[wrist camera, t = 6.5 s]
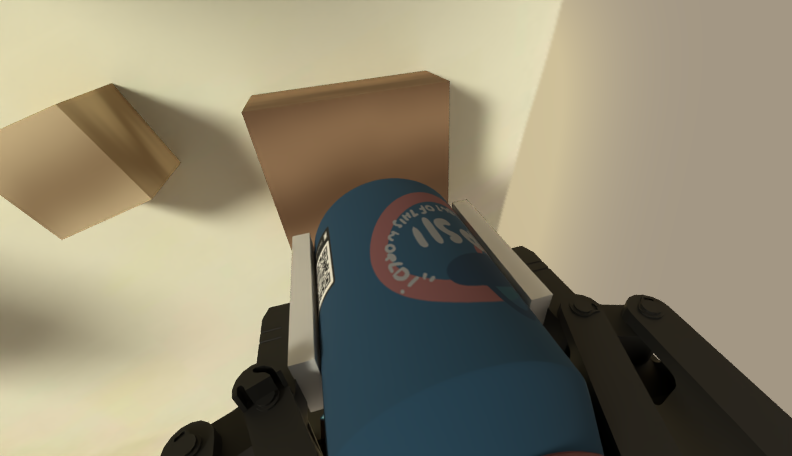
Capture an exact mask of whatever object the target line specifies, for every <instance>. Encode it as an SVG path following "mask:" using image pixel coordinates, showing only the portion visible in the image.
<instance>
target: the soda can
mask: <svg viewBox="0 0 792 456" xmlns="http://www.w3.org/2000/svg"><path fill="white" fill-rule="evenodd" d="M314 253H315V270H316V288H317V305H318V322H319V340H320V357H321V374H322V391H323V409H324V426H325V443H326V456H604V453H603V448H602V444H601V440H600V436H599V431H598V427H597V423H596V419H595V415H594V410H593V406H592V402H591V398H590V394H589V391H588V387H587V384H586V381H585V379H584V377H583V376H582V375H581V373H580V372H579V371H578V369H577V368H576V367H575V366H574V364H573V363H572V362H571V361H570V359H569V358H568V357H567V355H566V354H565V353H564V352H563V350H562V349H561V348H560V346H559V345H558V344H557V343H556V341H555V340H554V339H553V337H552V336H551V335H550V334H549V332H548V331H547V330H546V328H545V327H544V326H543V325H542V323H541V322H540V321H539V319H538V318H537V317H536V316H535V314H534V313H533V312H532V310H531V309H530V308H529V307H528V305H527V304H526V303H525V302H524V300H523V299H522V298H521V296H520V295H519V294H518V293H517V291H516V290H515V289H514V287H513V286H512V285H511V284H510V282H509V281H508V280H507V278H506V277H505V276H504V275H503V273H502V272H501V271H500V269H499V268H498V267H497V266H496V264H495V263H494V262H493V260H492V259H491V258H490V257H489V255H488V254H487V253H486V251H485V250H484V249H483V248H482V246H481V245H480V244H479V243H478V241H477V240H476V239H475V237H474V236H473V235H472V234H471V232H470V231H469V230H468V228H467V227H466V226H465V225H464V223H463V222H462V221H461V219H460V218H459V217H458V216H457V214H456V213H455V212H454V210H453V209H452V208H451V207H450V205H449V204H448V203H447V201H446V200H445V199H444V198H443V197H442V196H441V195H440V194H439V193H438V192H437V191H435V190H434V189H432V188H431V187H429V186H427V185H425V184H423V183H420V182H417V181H413V180H409V179H401V178H387V179H379V180H375V181H371V182H368V183H365V184H362V185H360V186H358V187H356V188H354V189H352V190H350V191H349V192H347V193H346V194H344V195H343V196H342V197H340V198H339V199H338V200H337V201H336V202H335V203H334V204H333V205H332V206H331V207H330V208H329V210H328V211H327V212H326V214H325V215H324V217H323V218H322V220H321V222H320V224H319V227H318V229H317V232H316V236H315V242H314Z"/></svg>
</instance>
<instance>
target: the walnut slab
mask: <svg viewBox="0 0 792 456" xmlns="http://www.w3.org/2000/svg"><path fill="white" fill-rule="evenodd" d="M449 84H450V81H448V80H446V79H443V78H441V77H439V76H437V75H434V74H432V73H430V72H428V71H420V72H413V73H406V74H399V75H392V76H385V77H378V78H371V79H364V80H357V81H350V82H343V83H336V84H329V85H322V86H315V87H308V88H301V89H294V90H287V91H280V92H273V93H266V94H259V95H252V96H251V97H250V99H249V100H248V102H247V104H246V106H245V107H244V109H243V111H242V115H243V117H244V120H245V123H246V126H247V129H248V131H249V134H250V137H251V140H252V142H253V145H254V148H255V151H256V153H257V156H258V159H259V162H260V164H261V167H262V170H263V173H264V175H265V178H266V181H267V184H268V186H269V189H270V192H271V195H272V197H273V200H274V203H275V206H276V208H277V211H278V214H279V217H280V219H281V222H282V225H283V228H284V230H285V233H286V236H287V239H288V241H289V244H290V247H291V250H292V237H293V236H297V235H301V234H306V233H310V236H311V240H312V243H313V246H314V242H315V236H316V232H317V229H318V227H319V224H320V222H321V220H322V218H323V217H324V215H325V214H326V212H327V211H328V210H329V208H330V207H331V206H332V205H333V204H334V203H335V202H336V201H337V200H338V199H339V198H340V197H342V196H343V195H344V194H346V193H347V192H349V191H350V190H352V189H354V188H356V187H358V186H360V185H362V184H365V183H368V182H371V181H375V180H379V179H387V178H401V179H409V180H413V181H417V182H420V183H423V184H425V185H427V186H429V187H431V188H432V189H434V190H435V191H437V192H438V193H439V194H440V195H441V196H442V197H443V198H444V199H445V200H446V201H447V203H448V165H449Z"/></svg>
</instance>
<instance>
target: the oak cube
mask: <svg viewBox="0 0 792 456" xmlns="http://www.w3.org/2000/svg"><path fill="white" fill-rule="evenodd" d="M180 163H181V162H180V161H179V160H178V159H177V158H176V157H175V155H174V154H173V153H172V152H171V151H170V150H169V148H168V147H167V146H166V145H165V144H164V143H163V142H162V140H161V139H160V138H159V137H158V136H157V135H156V133H155V132H154V131H153V130H152V129H151V128H150V127H149V125H148V124H147V123H146V122H145V121H144V120H143V118H142V117H141V116H140V115H139V114H138V113H137V112H136V110H135V109H134V108H133V107H132V106H131V105H130V103H129V102H128V101H127V100H126V99H125V98H124V97H123V95H122V94H121V93H120V92H119V91H118V90H117V88H116V87H115V86H114V85H113V84H112V83H111V84H109V85H106V86H103V87H101V88H98V89H95V90H93V91H90V92H87V93H85V94H82V95H79V96H77V97H74V98H71V99H69V100H66V101H63V102H61V103H58V104H55V105H53V106H51V107H49V108H46V109H44V110H42V111H40V112H37V113H35V114H33V115H31V116H28V117H26V118H24V119H22V120H20V121H17V122H15V123H13V124H11V125H8V126H6V127H4V128H2V129H0V195H1V196H2V197H4V198H5V199H7V200H8V201H9V202H11V203H12V204H13V205H15V206H16V207H18V208H19V209H20V210H22V211H23V212H24V213H26V214H27V215H28V216H30V217H31V218H33V219H34V220H35V221H37V222H38V223H39V224H41V225H42V226H44V227H45V228H46V229H48V230H49V231H50V232H52V233H53V234H55V235H56V236H57V237H59V238H60V239H61V240H63V239H65V238H67V237H69V236H72V235H74V234H76V233H78V232H81V231H83V230H85V229H87V228H89V227H92V226H94V225H96V224H98V223H101V222H103V221H105V220H107V219H109V218H112V217H114V216H116V215H118V214H121V213H123V212H125V211H127V210H129V209H132V208H134V207H136V206H138V205H141V204H143V203H145V202H147V201H149V200H152V199H153V197H154V196H155V195H156V194H157V192H158V191H159V190H160V188H161V187H162V186H163V185H164V183H165V182H166V181H167V180H168V178H169V177H170V176H171V174H172V173H173V172H174V171H175V169H176V168H177V167H178V166H179V164H180Z"/></svg>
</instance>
